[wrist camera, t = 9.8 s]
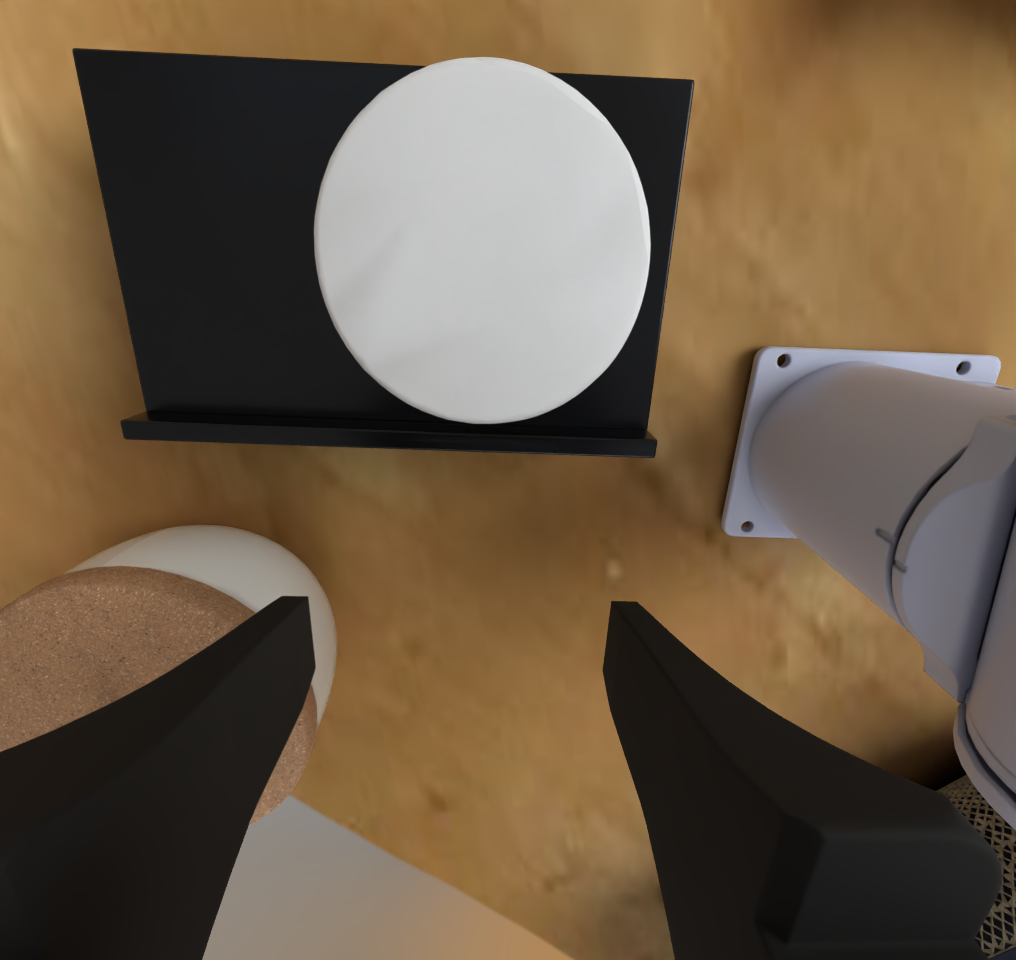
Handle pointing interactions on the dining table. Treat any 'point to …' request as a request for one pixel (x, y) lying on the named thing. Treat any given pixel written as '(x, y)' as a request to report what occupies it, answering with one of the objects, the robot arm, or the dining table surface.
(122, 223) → the black lipped tray
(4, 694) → the trinket box
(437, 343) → the supplement bottle
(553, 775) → the dining table surface
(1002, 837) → the portable speaker
